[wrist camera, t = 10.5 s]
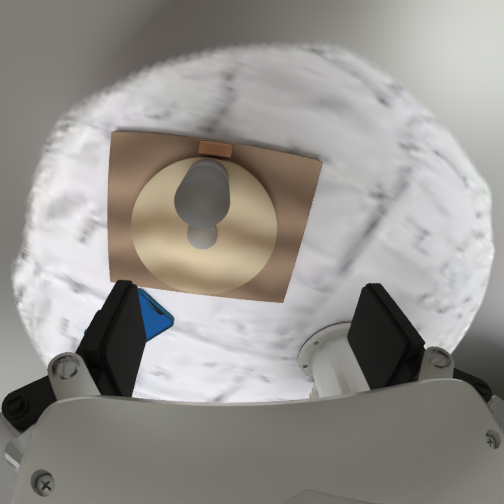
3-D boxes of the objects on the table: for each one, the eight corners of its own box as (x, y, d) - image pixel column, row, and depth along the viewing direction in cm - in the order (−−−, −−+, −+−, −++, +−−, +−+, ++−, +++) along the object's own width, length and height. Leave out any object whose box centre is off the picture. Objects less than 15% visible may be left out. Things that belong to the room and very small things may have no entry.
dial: (262, 289, 34) (273, 341, 27) (138, 280, 32) (118, 329, 25) (285, 164, 28) (309, 186, 20) (136, 152, 26) (103, 169, 18)
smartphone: (81, 333, 38) (137, 288, 34) (83, 329, 38) (139, 284, 35) (116, 361, 41) (177, 323, 37) (117, 356, 42) (177, 319, 38)
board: (280, 296, 37) (285, 312, 34) (113, 275, 34) (105, 290, 31) (318, 159, 30) (329, 165, 26) (116, 130, 26) (104, 133, 23)
